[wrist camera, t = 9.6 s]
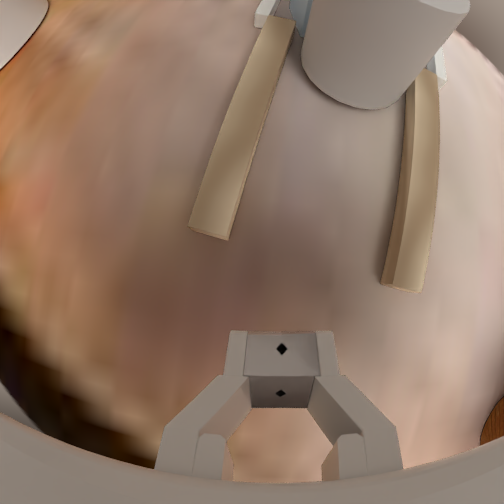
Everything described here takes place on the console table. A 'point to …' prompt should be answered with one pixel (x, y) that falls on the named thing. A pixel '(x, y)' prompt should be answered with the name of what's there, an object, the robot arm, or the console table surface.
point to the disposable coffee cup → (494, 424)
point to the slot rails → (248, 133)
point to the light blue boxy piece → (301, 14)
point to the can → (374, 46)
